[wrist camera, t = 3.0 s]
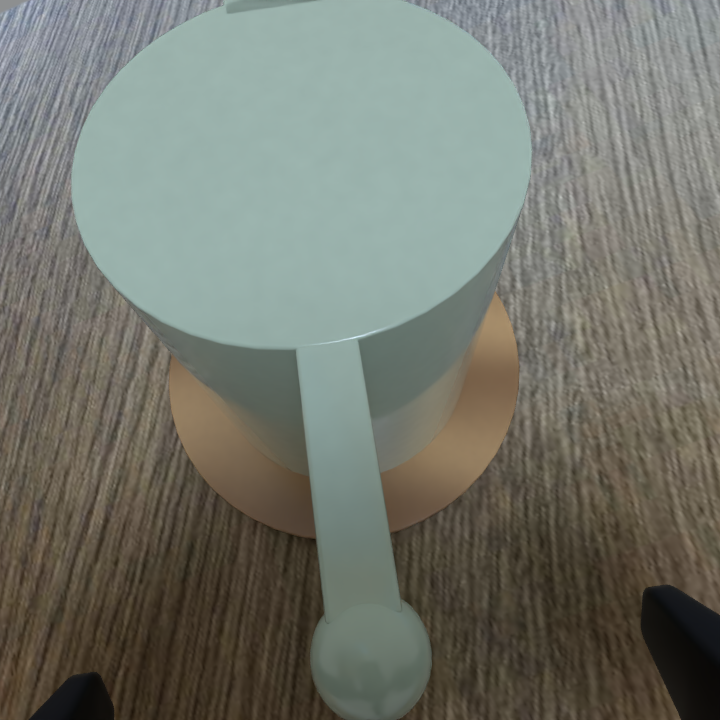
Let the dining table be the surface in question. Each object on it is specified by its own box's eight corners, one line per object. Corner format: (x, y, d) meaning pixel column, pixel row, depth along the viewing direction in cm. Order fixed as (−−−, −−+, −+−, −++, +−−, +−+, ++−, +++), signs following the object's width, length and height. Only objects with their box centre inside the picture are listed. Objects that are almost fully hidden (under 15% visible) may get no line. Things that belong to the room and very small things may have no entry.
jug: (213, 241, 22) (77, -38, 12) (430, 208, 22) (461, -94, 12) (236, 684, 16) (8, 800, 6) (534, 635, 16) (742, 679, 7)
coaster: (546, 529, 17) (549, 527, 17) (157, 552, 18) (152, 551, 17) (490, 210, 22) (492, 203, 22) (184, 232, 22) (181, 226, 22)
